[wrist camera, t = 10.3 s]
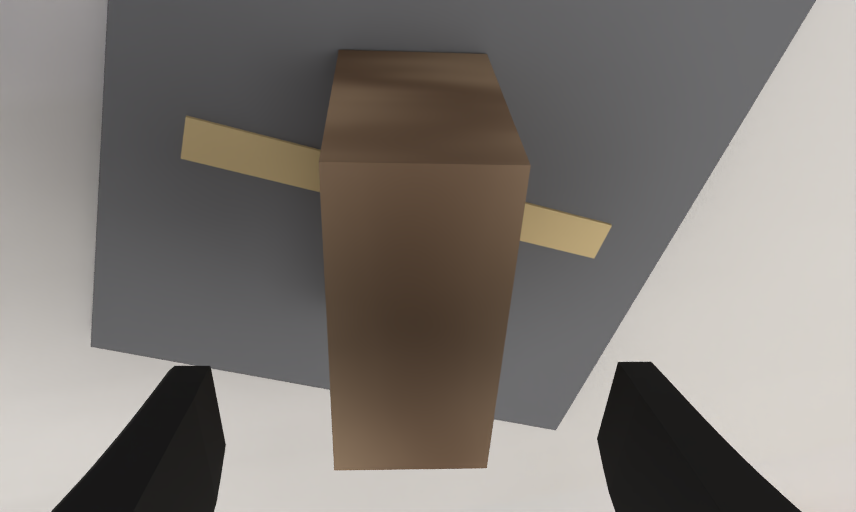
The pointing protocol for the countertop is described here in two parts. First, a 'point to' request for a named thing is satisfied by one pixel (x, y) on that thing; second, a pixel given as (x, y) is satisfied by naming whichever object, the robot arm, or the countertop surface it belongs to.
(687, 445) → the robot arm
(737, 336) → the countertop surface
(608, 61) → the mat
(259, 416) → the countertop surface
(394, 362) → the walnut block
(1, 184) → the countertop surface
